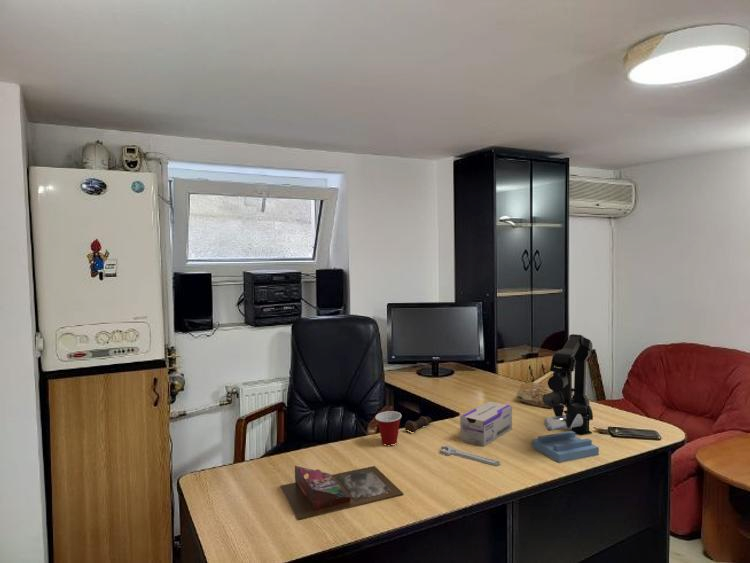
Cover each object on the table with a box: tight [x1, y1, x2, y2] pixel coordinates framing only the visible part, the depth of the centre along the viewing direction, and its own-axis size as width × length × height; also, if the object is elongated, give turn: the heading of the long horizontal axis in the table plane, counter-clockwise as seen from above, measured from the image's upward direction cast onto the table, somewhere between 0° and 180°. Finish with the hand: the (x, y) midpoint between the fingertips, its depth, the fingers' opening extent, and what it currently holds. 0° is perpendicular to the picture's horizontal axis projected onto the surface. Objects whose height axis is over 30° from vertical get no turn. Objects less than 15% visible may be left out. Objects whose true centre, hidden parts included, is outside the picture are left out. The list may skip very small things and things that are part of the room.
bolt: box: [404, 416, 432, 433], centre depth 222 cm, size 6×5×15 cm
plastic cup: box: [374, 410, 402, 445], centre depth 204 cm, size 11×11×12 cm
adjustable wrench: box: [439, 445, 502, 467], centre depth 189 cm, size 25×6×2 cm, turn 47°
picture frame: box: [280, 465, 404, 521], centre depth 165 cm, size 24×35×8 cm
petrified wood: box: [515, 381, 553, 409], centre depth 252 cm, size 19×13×10 cm
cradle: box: [531, 430, 600, 464], centre depth 193 cm, size 18×16×5 cm
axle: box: [543, 414, 583, 432], centre depth 193 cm, size 14×5×5 cm, turn 109°
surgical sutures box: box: [459, 401, 513, 448], centre depth 212 cm, size 25×11×11 cm, turn 139°
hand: (563, 425), depth 193 cm, fingers closed on axle, 5 cm apart
